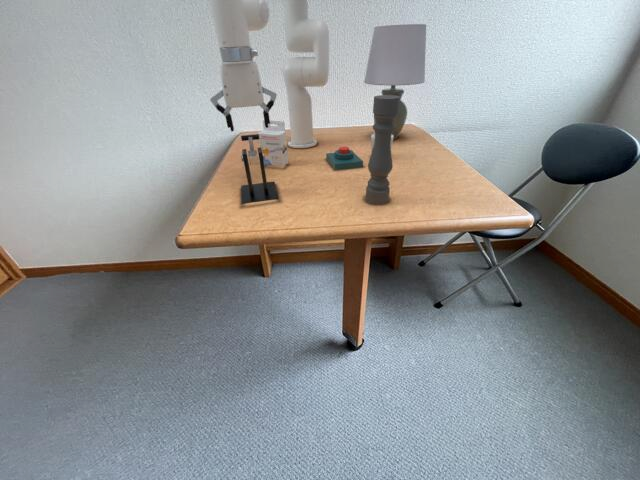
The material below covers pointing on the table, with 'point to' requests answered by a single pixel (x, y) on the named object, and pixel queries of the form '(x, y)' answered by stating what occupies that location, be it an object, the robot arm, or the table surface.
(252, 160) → the lever
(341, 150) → the button
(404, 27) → the lamp
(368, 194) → the candle holder
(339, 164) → the button block
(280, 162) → the ink box
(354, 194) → the table surface
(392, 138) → the cup
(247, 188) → the bracket
